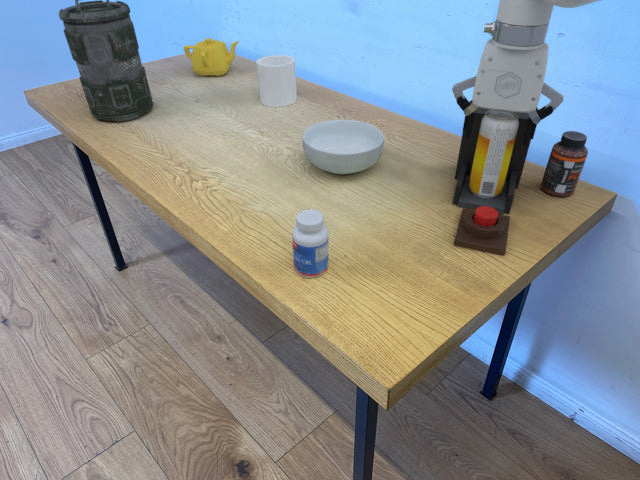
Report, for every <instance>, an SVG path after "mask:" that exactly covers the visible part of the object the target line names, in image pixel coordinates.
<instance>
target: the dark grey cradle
mask: <svg viewBox="0 0 640 480" xmlns="http://www.w3.org/2000/svg"><path fill="white" fill-rule="evenodd" d="M488 110H492V109H485V108H480V107H478V108H477V109H476V110H475V115H474V120H473V125H472V131H471V134H470V137H468V138H465V136H466V131H463V130H462V134H461V138H460V139H461V140H460V145H459V151H458V155H457V163H456V167H455V174H454V180H457V181H456V184H455V188H454V193H453V199H452V205H455V206H457V207H458V208H462V209H463V208H465V209H476V208H478V207H481V206H488V207H491V208H494V209H495V210H497V212H498V213H500V214H501V215H504V214H506V215H510V213H511V209H512V206H513V201H514V198H515V194H516V193H515V192H516V190H518V189H519V185H520V182H521V178H522V174H523V171H524V167H525V165H526V164H525V163H526V160H527V157H528V152H529V149H530V145H531V143H532V139H529V140H528V144H527V146H525V145H523V137H524V133H525V129H526V125H527V121H528V118H530V117H529V115H528V113H520V112H514V113H516V114H517V115H518V120H519V127H518V131H517V135H516V139H515V143H514V147H513V150H512V154H511V158H510V162H509V166H508V170H507V174H506V178H505V182H504V186H503V190H502V192H501V193H500V194H499V195H498V196H496V197H494V198H481V197H478V196H476V195H474V194H473V193H472V192H471V190H470V189H469V181H470V176H471V171H472V166H473V161H474V156H475V150H476V145H477V140H478V135H479V130H480V125H481V120H482V118H483V116H484V115H485V113H486V112H487V111H488Z"/></svg>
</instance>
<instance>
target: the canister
mask: <svg viewBox="0 0 640 480" xmlns="http://www.w3.org/2000/svg"><path fill="white" fill-rule="evenodd" d="M79 1H80V0H74V3H75V5H71V6H67V7H64V9H63V8H61V9H59V11H58V17H59V20H61V21H62V23H63V24H62V25H63V28H64V29H63V33H64V37H65V40H66V42H67V46H68V48H69V51H70V55H71V58H72V60H73V61H74V62H75V64H76V66H77V67H76V68H77V70H78V73H79V80H80V84H81V88H82V90H83V93H84V96H85V99H86V102H87V105H88V108H89V110H90V114H91V116H92V117H93V118H94V119H95V120H98V121H100V122H103V121H110V122H115V123H123V122H128V121H133V120H136V119H139V117H140V116H143V115H144V114H146V113H147V112H148V111H150V110H151V109H152V108H153V105H154V103H153V97H152V92H151V88H150V85H149V81H148V77H147V73H146V68H145V66H143V63H142V59H141V55H140V51H139V49H140V46H139V42H138V39H137V33H136V29H135V26H134V22H133V21H132V19H131V15H130V13H131V8H130V6H129V5H128V3H126V2H124V1H121V0H116V1H110V0H105V1H103V0H93V1H92V0H89V1H82V2H79Z"/></svg>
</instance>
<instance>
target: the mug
mask: <svg viewBox="0 0 640 480" xmlns="http://www.w3.org/2000/svg"><path fill="white" fill-rule="evenodd" d="M256 72H257V73H256V74H257V81H258V93H259V94H258V95H259V101H260V104H261V105H262V106H265V107H269V108H284V107H289V106H292V105H294V104H295V103H296V102H297V101H298V94H297V93H298V92H297V91H298V90H297V75H296V73H297V72H296V60H295V58H294V57H293V56H289V55H284V54H273V55H272V54H271V55H266V56H262V57H260V58H258V59H257V60H256Z"/></svg>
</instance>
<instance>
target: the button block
mask: <svg viewBox="0 0 640 480" xmlns="http://www.w3.org/2000/svg"><path fill="white" fill-rule="evenodd" d="M476 209H477V208H476ZM476 209H469V208H463V207H462V209H461V214H460V218H459V221H458V225H457V229H456V233H455V237H454V241H453V246H454V247H458V248H459V247H460V248H464V249H468V250H474V251H478V252H479V251H480V252H484V253H488V254H494V255H499V256H505V255H506V252H507V247H508V236H509V228H510V220H511V219H510V217H511V216H509V215H504V214H500V213H498V217H497V221H496V224H495V225H494V226H488V227H487V226H482V225H479V224H477V223H475V221H474V215H475V210H476Z"/></svg>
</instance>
